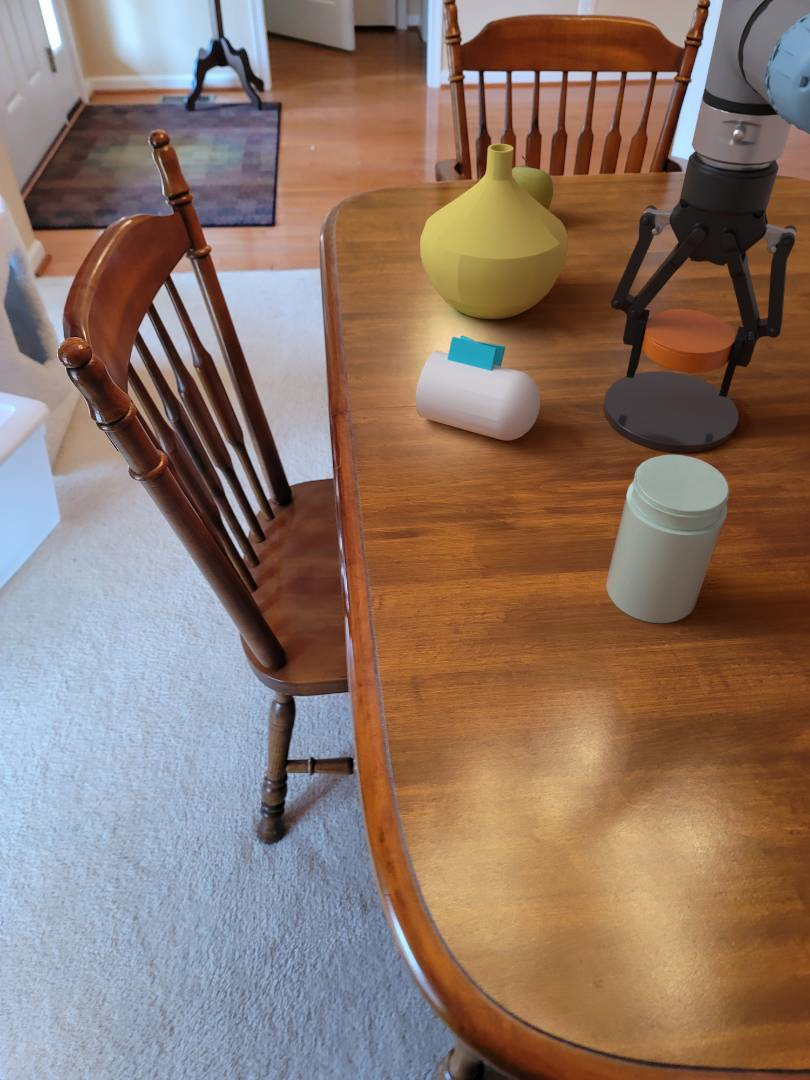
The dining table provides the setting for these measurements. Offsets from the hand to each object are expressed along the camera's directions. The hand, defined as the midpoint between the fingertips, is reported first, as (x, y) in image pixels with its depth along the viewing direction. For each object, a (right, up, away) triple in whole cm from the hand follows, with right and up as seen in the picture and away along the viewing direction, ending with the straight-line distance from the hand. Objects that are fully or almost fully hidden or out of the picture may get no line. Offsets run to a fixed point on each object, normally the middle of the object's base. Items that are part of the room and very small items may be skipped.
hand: (677, 380), depth 87 cm
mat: (0, -3, +3) cm, 4 cm away
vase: (-18, +14, +22) cm, 31 cm away
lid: (0, +4, -4) cm, 5 cm away
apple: (-10, +32, +40) cm, 52 cm away
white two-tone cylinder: (-20, -4, +3) cm, 20 cm away
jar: (-8, -21, -16) cm, 28 cm away
